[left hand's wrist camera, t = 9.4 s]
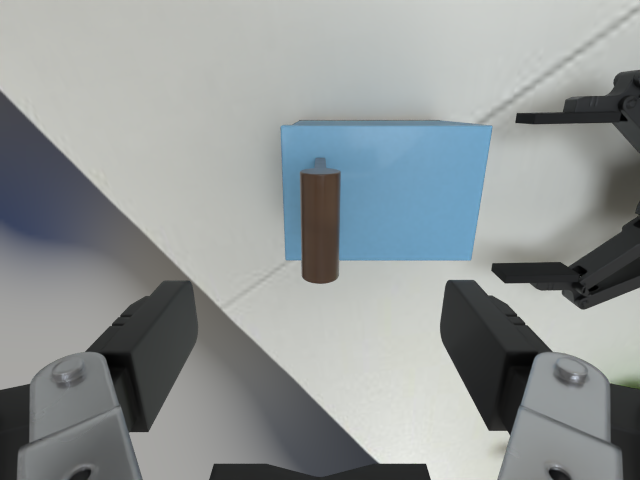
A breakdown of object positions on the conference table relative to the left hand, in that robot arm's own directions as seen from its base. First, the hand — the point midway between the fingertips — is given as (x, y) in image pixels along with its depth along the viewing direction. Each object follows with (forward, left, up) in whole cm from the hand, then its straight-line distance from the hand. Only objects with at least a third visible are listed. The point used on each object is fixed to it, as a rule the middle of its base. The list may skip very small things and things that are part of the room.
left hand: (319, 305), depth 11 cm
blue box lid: (+4, +1, -16) cm, 16 cm away
